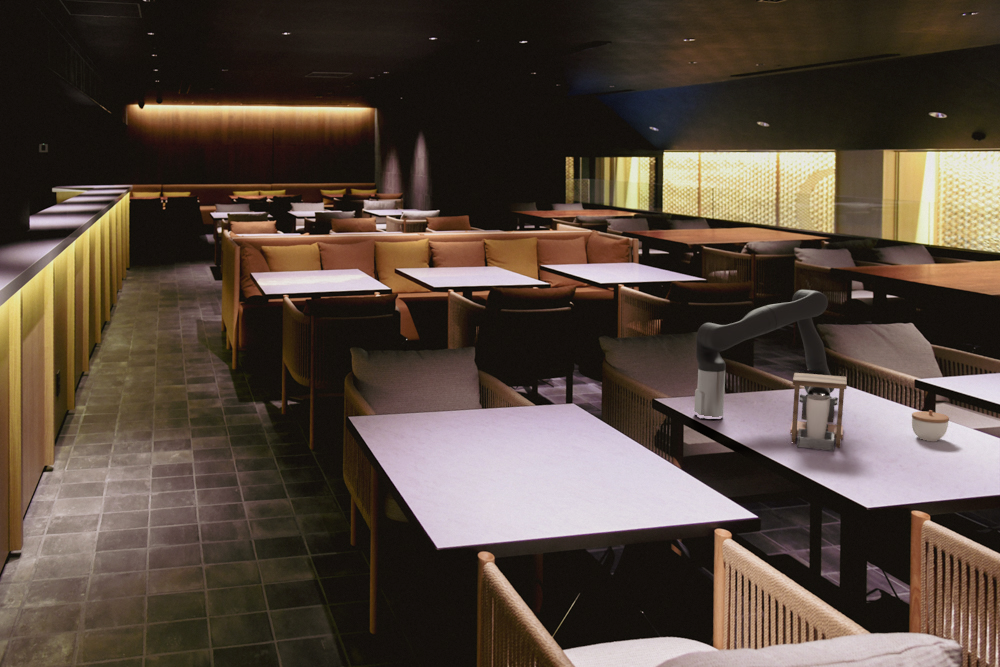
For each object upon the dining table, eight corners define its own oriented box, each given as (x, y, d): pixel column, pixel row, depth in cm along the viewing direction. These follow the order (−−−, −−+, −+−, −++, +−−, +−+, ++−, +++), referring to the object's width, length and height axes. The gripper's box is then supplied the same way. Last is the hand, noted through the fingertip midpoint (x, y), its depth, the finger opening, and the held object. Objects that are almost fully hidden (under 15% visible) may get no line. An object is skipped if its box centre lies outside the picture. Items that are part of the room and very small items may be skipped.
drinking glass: (823, 439, 275) (827, 394, 271) (829, 447, 268) (832, 401, 265) (801, 439, 276) (804, 394, 272) (806, 446, 269) (809, 400, 266)
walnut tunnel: (842, 449, 266) (846, 384, 263) (788, 443, 272) (792, 379, 268) (841, 439, 277) (846, 376, 273) (790, 434, 282) (794, 372, 279)
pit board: (842, 439, 277) (842, 434, 277) (790, 433, 283) (790, 429, 282) (842, 429, 288) (842, 425, 288) (791, 424, 294) (792, 420, 293)
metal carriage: (833, 450, 263) (835, 416, 262) (796, 446, 267) (799, 413, 265) (833, 429, 287) (835, 398, 285) (800, 426, 291) (802, 395, 289)
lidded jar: (912, 441, 274) (915, 413, 273) (907, 432, 285) (910, 405, 283) (949, 444, 271) (952, 416, 270) (943, 435, 282) (946, 407, 280)
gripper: (799, 382, 305) (797, 393, 289) (839, 385, 301) (840, 396, 285) (798, 402, 306) (796, 414, 290) (838, 406, 302) (838, 418, 286)
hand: (818, 405), depth 287 cm, fingers closed
